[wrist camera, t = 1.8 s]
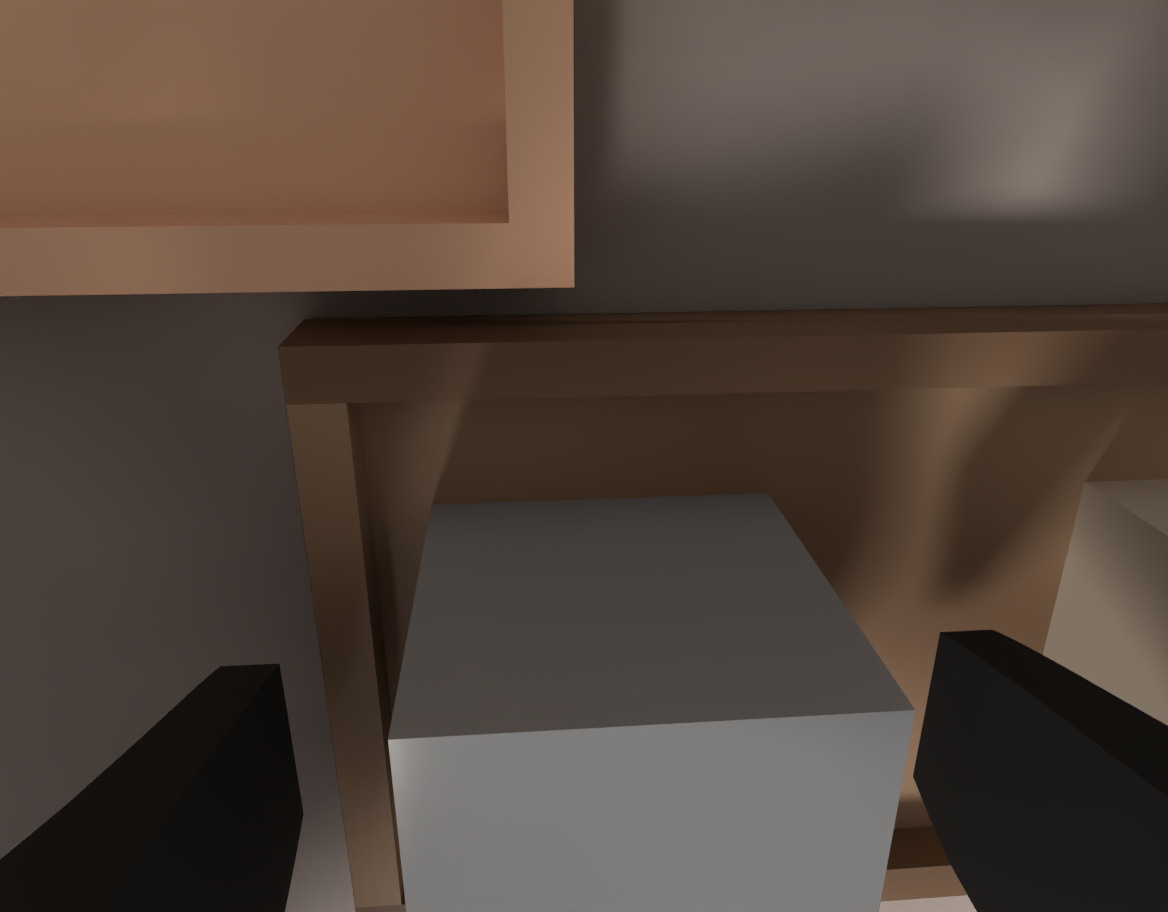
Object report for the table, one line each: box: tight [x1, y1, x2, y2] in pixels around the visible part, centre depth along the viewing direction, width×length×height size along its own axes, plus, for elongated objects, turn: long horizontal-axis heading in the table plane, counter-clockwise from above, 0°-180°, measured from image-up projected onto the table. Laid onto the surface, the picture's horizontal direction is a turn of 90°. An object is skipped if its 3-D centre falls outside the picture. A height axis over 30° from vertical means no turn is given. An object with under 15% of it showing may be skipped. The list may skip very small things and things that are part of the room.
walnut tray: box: [278, 304, 1168, 912], centre depth 11 cm, size 8×15×1 cm, turn 90°
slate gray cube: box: [388, 493, 915, 912], centre depth 9 cm, size 4×4×4 cm
